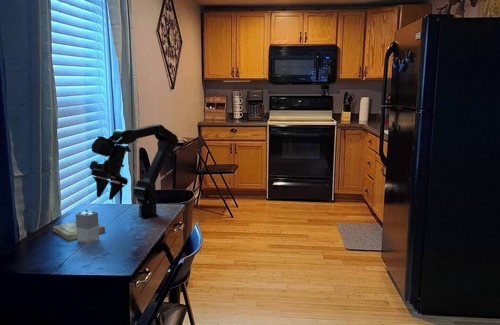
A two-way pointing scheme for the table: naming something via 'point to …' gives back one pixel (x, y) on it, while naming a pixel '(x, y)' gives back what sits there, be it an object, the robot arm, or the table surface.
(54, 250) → the table surface
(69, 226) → the stand
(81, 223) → the plate
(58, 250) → the table surface
